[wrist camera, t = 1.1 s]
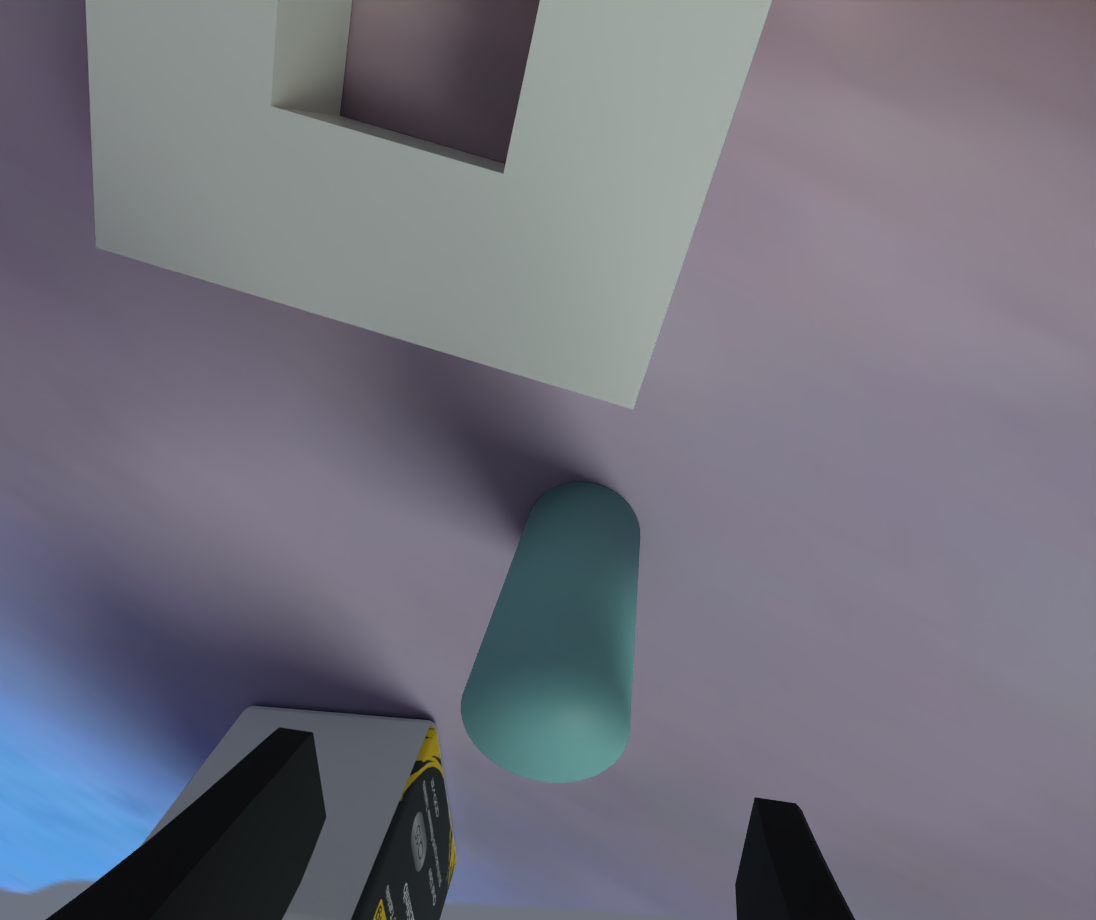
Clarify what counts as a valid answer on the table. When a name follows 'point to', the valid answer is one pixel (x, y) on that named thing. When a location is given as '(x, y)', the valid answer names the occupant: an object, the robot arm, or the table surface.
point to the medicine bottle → (358, 812)
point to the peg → (561, 641)
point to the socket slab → (423, 175)
